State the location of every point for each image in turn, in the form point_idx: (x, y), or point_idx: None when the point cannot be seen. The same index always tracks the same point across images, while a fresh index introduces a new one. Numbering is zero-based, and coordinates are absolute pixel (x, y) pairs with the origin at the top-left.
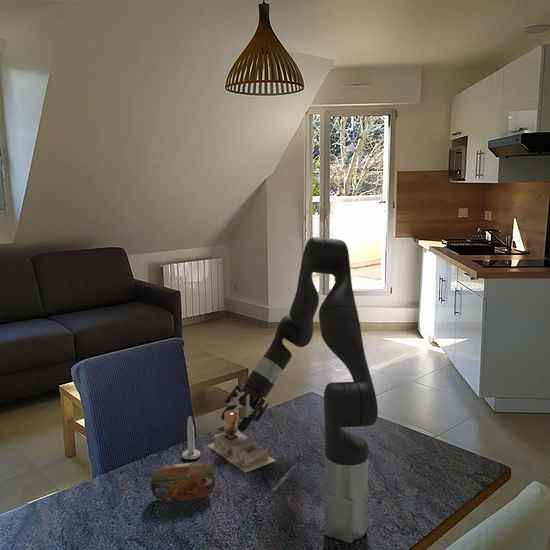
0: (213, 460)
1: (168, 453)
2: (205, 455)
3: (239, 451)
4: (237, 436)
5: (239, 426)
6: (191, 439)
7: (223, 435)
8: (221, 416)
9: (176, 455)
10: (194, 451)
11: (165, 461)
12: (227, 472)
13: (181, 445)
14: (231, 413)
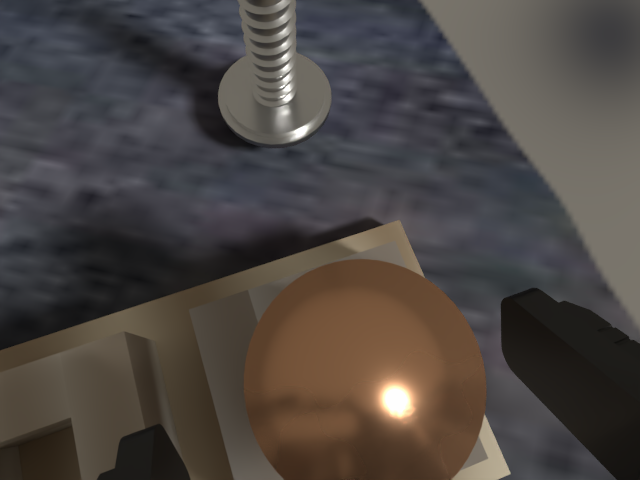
0: (235, 236)
1: (402, 36)
2: (315, 205)
3: (17, 382)
4: None
5: (119, 456)
6: (242, 8)
7: None
8: (532, 293)
9: (367, 66)
10: (275, 106)
11: (320, 13)
12: (50, 284)
13: (479, 106)
14: (342, 384)
